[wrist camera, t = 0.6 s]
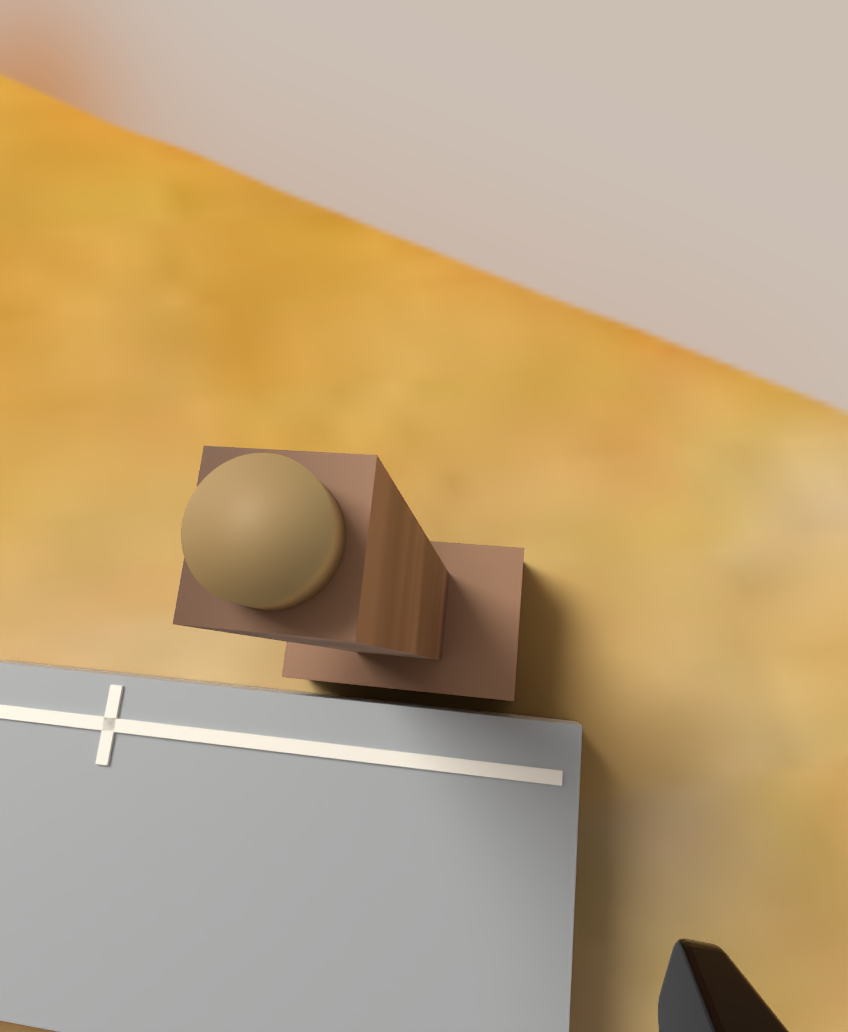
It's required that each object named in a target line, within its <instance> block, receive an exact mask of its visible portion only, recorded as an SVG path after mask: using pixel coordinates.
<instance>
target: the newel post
mask: <svg viewBox="0 0 848 1032" xmlns="http://www.w3.org/2000/svg"><path fill="white" fill-rule="evenodd" d="M181 543H182V550H183V554H184V563H183V569H182V574H181V580H180V586H179V591H178V597H177V603H176V609H175V614H174V620H173V624H176V625H182V626H189V627H195V628H202V629H209V630H215V631H222V632H228V633H235V634H241V635H248V636H254V637H261V638H268V639H274V640H281V641H287V645H286V652H285V659H284V666H283V674H282V677H287V678H297V679H306V680H316V681H326V682H335V683H345V684H354V685H364V686H374V687H383V688H393V689H402V690H412V691H422V692H431V693H441V694H450V695H460V696H470V697H479V698H489V699H499V700H508V701H514V696H515V681H516V665H517V650H518V635H519V619H520V604H521V589H522V574H523V558H524V548H515V547H501V546H488V545H474V544H460V543H446V542H432V541H429V539H428V538H427V536H426V534H425V533H424V531H423V530H422V528H421V526H420V525H419V523H418V521H417V520H416V518H415V516H414V515H413V513H412V512H411V510H410V508H409V507H408V505H407V503H406V502H405V500H404V498H403V497H402V495H401V494H400V492H399V490H398V489H397V487H396V485H395V484H394V482H393V480H392V479H391V477H390V476H389V474H388V472H387V471H386V469H385V467H384V466H383V464H382V462H381V461H380V459H379V458H378V456H377V455H363V454H345V453H326V452H308V451H289V450H271V449H252V448H234V447H215V446H204V448H203V454H202V460H201V466H200V471H199V477H198V483H197V488H196V489H195V491H194V492H193V494H192V496H191V498H190V500H189V502H188V504H187V507H186V509H185V512H184V516H183V521H182V528H181Z"/></svg>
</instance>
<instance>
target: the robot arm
mask: <svg viewBox="0 0 848 1032" xmlns="http://www.w3.org/2000/svg"><path fill="white" fill-rule="evenodd" d="M658 1023H659V1032H789V1031H788V1030H787V1029H786V1028H785V1026H784V1025H783V1024H782V1023H781V1021H780V1020H779V1019H778V1018H777V1016H776V1015H775V1014H774V1013H773V1011H772V1010H771V1009H770V1008H769V1006H768V1005H767V1004H766V1003H765V1001H764V1000H763V999H762V998H761V996H760V995H759V994H758V993H757V991H756V990H755V989H754V988H753V986H752V985H751V984H750V983H749V981H748V980H747V979H746V978H745V976H744V975H743V974H742V973H741V971H740V970H739V969H738V968H737V966H736V965H735V964H734V963H733V961H732V960H731V959H730V958H729V956H728V955H727V954H726V953H725V952H724V951H723V950H722V949H721V948H720V947H718V946H716V945H714V944H710V943H705V942H699V941H694V940H689V939H680V940H678V941H677V942H676V944H675V945H674V948H673V951H672V954H671V957H670V961H669V964H668V968H667V971H666V975H665V978H664V982H663V985H662V988H661V992H660V996H659V1003H658Z"/></svg>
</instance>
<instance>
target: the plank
mask: <svg viewBox="0 0 848 1032" xmlns="http://www.w3.org/2000/svg"><path fill="white" fill-rule="evenodd" d="M581 745H582V725H581V724H580V723H578V722H577V721H571V720H561V719H552V718H543V717H533V716H524V715H515V714H505V713H496V712H487V711H477V710H468V709H459V708H449V707H440V706H430V705H421V704H412V703H402V702H393V701H384V700H374V699H365V698H356V697H346V696H337V695H328V694H318V693H309V692H299V691H290V690H281V689H271V688H262V687H253V686H243V685H234V684H225V683H215V682H206V681H197V680H187V679H178V678H168V677H159V676H150V675H140V674H131V673H122V672H112V671H103V670H94V669H84V668H75V667H66V666H56V665H47V664H38V663H28V662H19V661H9V660H0V1021H5V1022H11V1023H16V1024H21V1025H26V1026H32V1027H37V1028H42V1029H47V1030H52V1031H58V1032H569V1018H570V995H571V973H572V950H573V927H574V904H575V882H576V859H577V836H578V813H579V791H580V768H581Z"/></svg>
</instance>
